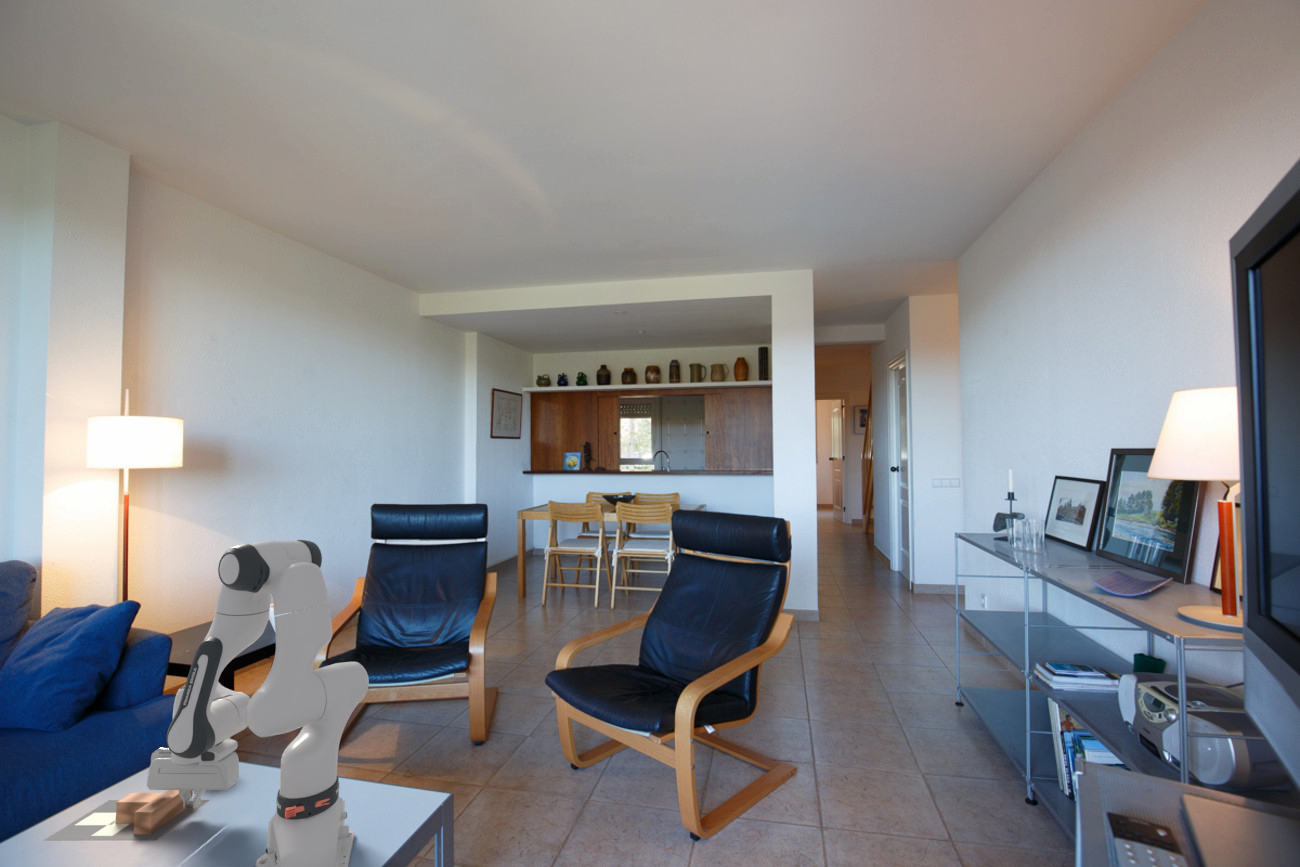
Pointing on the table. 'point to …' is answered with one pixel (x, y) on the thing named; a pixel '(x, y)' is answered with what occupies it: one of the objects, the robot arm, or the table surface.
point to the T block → (149, 810)
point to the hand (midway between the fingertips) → (191, 806)
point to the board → (112, 826)
